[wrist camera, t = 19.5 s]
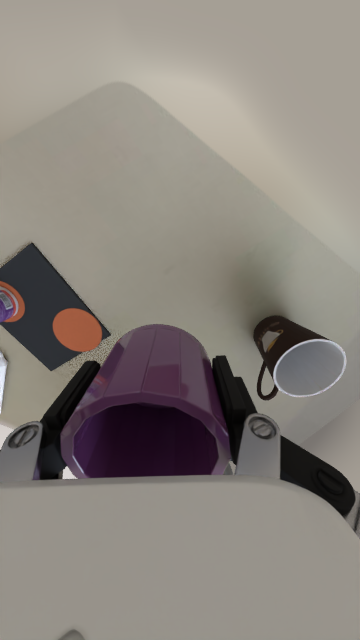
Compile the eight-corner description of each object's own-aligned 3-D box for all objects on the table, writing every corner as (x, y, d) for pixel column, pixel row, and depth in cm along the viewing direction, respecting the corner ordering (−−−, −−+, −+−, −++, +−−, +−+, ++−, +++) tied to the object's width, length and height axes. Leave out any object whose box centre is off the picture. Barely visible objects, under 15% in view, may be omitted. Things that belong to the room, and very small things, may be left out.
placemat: (-30, 294, 30) (-33, 295, 29) (32, 243, 27) (30, 243, 26) (54, 371, 35) (52, 373, 35) (112, 336, 33) (111, 337, 32)
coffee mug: (285, 299, 30) (331, 325, 21) (306, 337, 33) (355, 376, 23) (222, 337, 33) (239, 376, 23) (246, 370, 35) (270, 416, 26)
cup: (87, 356, 12) (22, 440, 7) (174, 303, 11) (168, 360, 6) (149, 419, 14) (132, 517, 9) (227, 381, 13) (258, 472, 8)
